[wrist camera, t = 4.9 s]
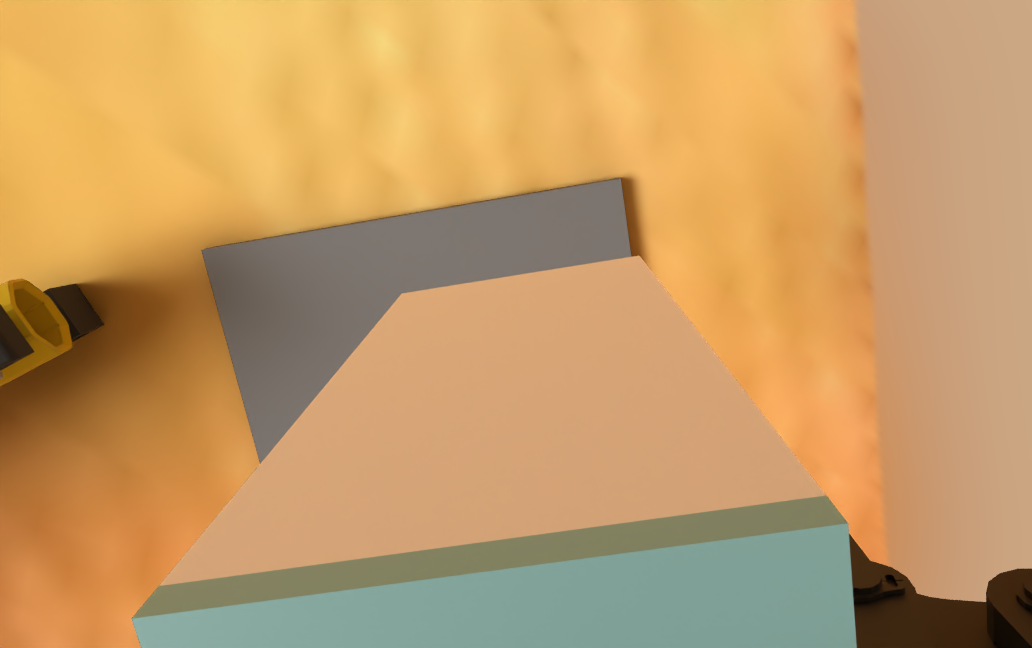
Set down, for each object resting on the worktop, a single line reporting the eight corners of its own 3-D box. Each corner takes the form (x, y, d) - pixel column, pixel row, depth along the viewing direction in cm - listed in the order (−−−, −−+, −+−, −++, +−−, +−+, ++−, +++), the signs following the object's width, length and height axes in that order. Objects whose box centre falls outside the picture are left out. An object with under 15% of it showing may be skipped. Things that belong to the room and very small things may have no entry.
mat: (207, 248, 32) (201, 250, 31) (619, 177, 30) (620, 178, 30) (289, 548, 35) (285, 555, 34) (662, 496, 34) (664, 502, 33)
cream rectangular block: (401, 293, 16) (130, 619, 5) (639, 255, 16) (847, 522, 5) (470, 622, 18) (370, 1338, 7) (683, 595, 18) (902, 1307, 7)
